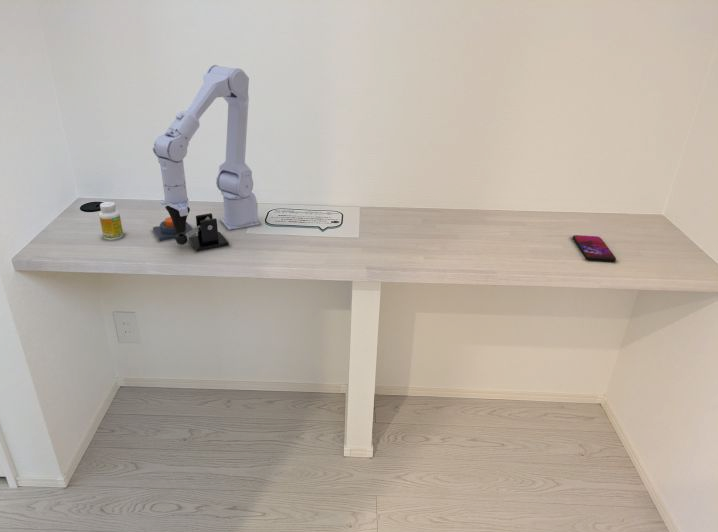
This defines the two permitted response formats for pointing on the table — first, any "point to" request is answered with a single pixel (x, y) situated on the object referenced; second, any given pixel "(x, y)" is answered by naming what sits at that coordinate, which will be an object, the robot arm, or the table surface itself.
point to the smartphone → (593, 248)
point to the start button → (169, 222)
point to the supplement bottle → (110, 221)
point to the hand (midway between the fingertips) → (180, 231)
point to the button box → (168, 231)
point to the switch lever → (188, 234)
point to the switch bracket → (207, 234)
